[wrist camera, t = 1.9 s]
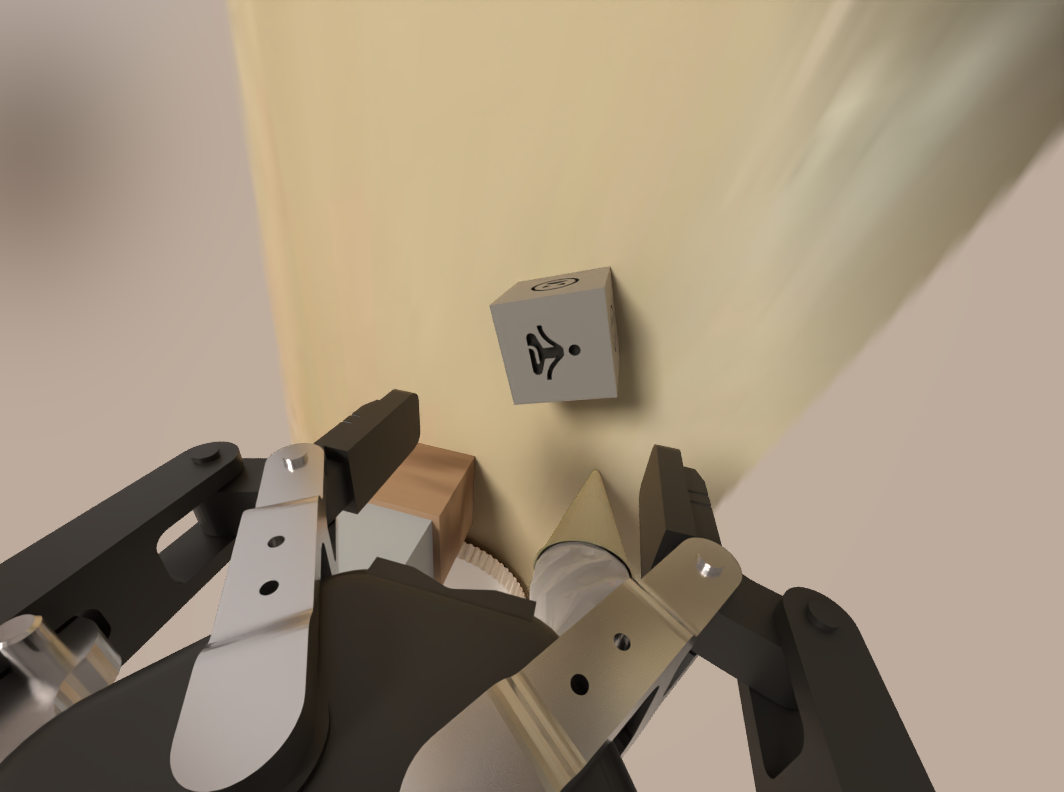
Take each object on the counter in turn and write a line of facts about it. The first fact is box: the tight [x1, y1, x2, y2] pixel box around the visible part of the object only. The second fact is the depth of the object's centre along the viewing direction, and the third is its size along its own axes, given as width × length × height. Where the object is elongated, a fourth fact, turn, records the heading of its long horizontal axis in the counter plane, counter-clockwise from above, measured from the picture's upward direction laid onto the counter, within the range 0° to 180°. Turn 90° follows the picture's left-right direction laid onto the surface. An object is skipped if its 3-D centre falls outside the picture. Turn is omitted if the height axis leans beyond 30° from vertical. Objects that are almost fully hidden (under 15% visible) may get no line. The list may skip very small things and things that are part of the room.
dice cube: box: [489, 267, 620, 405], centre depth 19 cm, size 5×5×5 cm
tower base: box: [368, 443, 475, 584], centre depth 27 cm, size 7×7×6 cm
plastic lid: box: [443, 542, 526, 599], centre depth 35 cm, size 14×14×2 cm
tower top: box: [337, 503, 434, 579], centre depth 22 cm, size 6×6×6 cm
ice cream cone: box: [529, 470, 635, 636], centre depth 19 cm, size 5×5×15 cm
